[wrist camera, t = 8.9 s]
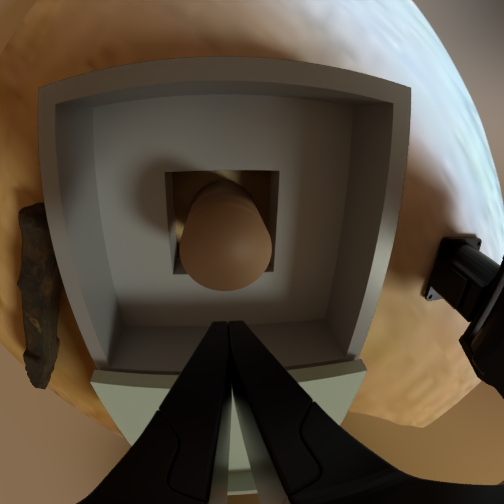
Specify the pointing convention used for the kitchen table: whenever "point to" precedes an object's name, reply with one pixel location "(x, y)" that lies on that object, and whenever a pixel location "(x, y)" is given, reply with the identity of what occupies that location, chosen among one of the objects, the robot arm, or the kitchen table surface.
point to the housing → (222, 158)
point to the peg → (224, 238)
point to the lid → (239, 473)
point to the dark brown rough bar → (39, 294)
